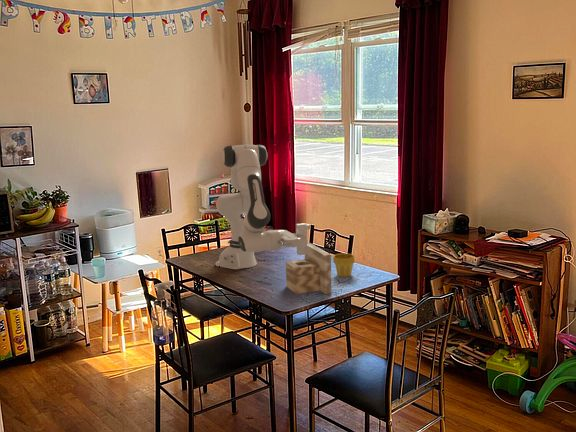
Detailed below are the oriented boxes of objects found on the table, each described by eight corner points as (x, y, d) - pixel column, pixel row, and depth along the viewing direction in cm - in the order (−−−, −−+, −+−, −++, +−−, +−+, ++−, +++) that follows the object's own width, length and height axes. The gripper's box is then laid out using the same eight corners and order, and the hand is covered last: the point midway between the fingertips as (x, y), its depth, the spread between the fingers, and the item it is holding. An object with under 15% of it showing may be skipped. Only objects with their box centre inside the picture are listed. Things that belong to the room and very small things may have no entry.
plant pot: (336, 278, 280) (336, 259, 278) (331, 272, 290) (331, 254, 288) (357, 277, 281) (356, 257, 279) (351, 271, 291) (351, 252, 289)
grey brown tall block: (299, 255, 262) (298, 225, 259) (296, 253, 264) (296, 223, 262) (311, 253, 264) (310, 223, 261) (308, 252, 266) (307, 222, 264)
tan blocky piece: (300, 298, 254) (299, 258, 250) (282, 283, 276) (280, 246, 273) (331, 293, 259) (330, 254, 256) (311, 278, 281) (310, 243, 278)
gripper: (282, 237, 248) (312, 234, 252) (267, 228, 267) (295, 225, 271) (282, 252, 249) (312, 248, 254) (268, 242, 268) (295, 238, 272)
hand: (303, 236), depth 263 cm, fingers closed on grey brown tall block, 3 cm apart
